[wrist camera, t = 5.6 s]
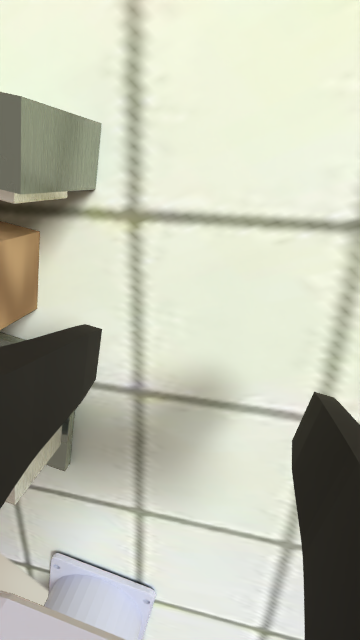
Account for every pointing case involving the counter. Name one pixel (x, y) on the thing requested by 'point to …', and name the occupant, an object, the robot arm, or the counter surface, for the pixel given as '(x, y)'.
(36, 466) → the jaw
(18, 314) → the block
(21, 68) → the counter surface
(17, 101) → the vise body
